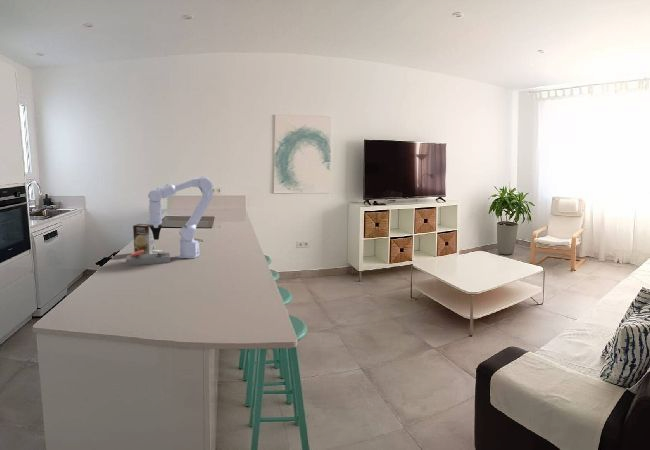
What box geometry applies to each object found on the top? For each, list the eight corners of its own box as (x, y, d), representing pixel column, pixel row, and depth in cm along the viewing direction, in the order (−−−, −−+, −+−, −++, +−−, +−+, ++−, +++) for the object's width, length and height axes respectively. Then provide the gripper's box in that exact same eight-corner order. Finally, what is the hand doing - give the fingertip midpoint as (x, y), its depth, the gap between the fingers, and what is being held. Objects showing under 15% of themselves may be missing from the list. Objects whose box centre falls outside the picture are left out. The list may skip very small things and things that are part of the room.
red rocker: (144, 251, 205) (143, 249, 204) (143, 252, 202) (143, 250, 202) (131, 255, 203) (131, 253, 202) (131, 257, 200) (130, 255, 200)
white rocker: (164, 252, 209) (165, 250, 209) (165, 253, 206) (165, 251, 206) (152, 251, 206) (152, 249, 206) (152, 252, 203) (152, 250, 203)
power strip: (169, 258, 211) (169, 251, 210) (170, 262, 203) (170, 255, 202) (127, 261, 203) (126, 254, 203) (126, 265, 195) (125, 258, 194)
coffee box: (133, 254, 217) (132, 225, 215) (140, 252, 224) (138, 223, 221) (149, 255, 216) (148, 226, 214) (155, 252, 223) (154, 224, 220)
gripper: (146, 211, 210) (147, 237, 212) (146, 215, 197) (147, 242, 199) (161, 211, 213) (162, 236, 215) (162, 215, 200) (163, 241, 202)
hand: (156, 239), depth 207 cm, fingers closed
